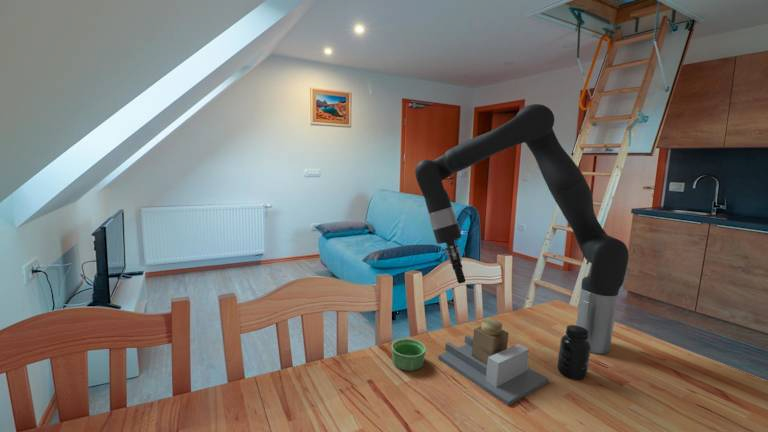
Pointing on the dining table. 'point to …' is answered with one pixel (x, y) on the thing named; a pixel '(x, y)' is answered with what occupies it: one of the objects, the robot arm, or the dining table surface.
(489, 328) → the brown bottle-shaped block
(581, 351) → the supplement bottle
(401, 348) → the ramekin
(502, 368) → the mount
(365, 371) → the dining table surface
